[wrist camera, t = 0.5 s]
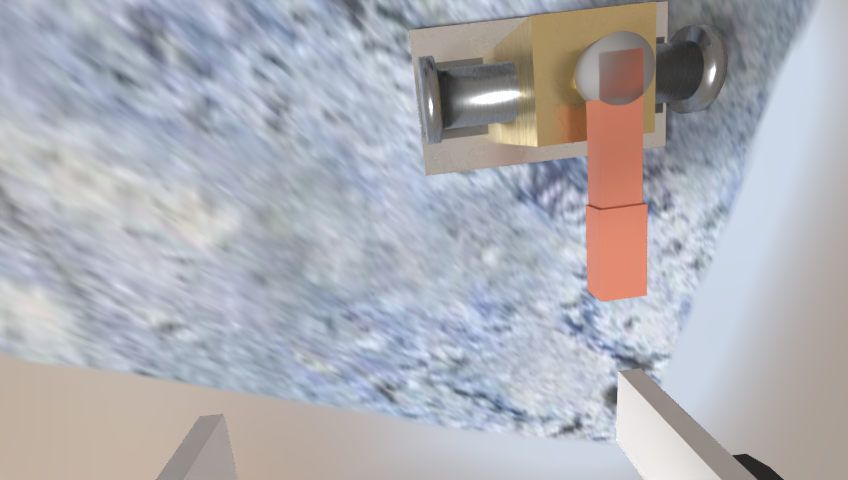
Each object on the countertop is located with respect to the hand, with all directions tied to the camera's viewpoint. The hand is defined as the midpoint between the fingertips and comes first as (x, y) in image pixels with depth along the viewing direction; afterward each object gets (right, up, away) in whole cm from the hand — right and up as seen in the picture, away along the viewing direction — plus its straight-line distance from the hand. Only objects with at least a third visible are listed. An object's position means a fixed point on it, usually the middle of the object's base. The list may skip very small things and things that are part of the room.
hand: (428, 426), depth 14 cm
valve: (+10, +19, +24) cm, 33 cm away
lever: (+12, +11, +13) cm, 21 cm away
